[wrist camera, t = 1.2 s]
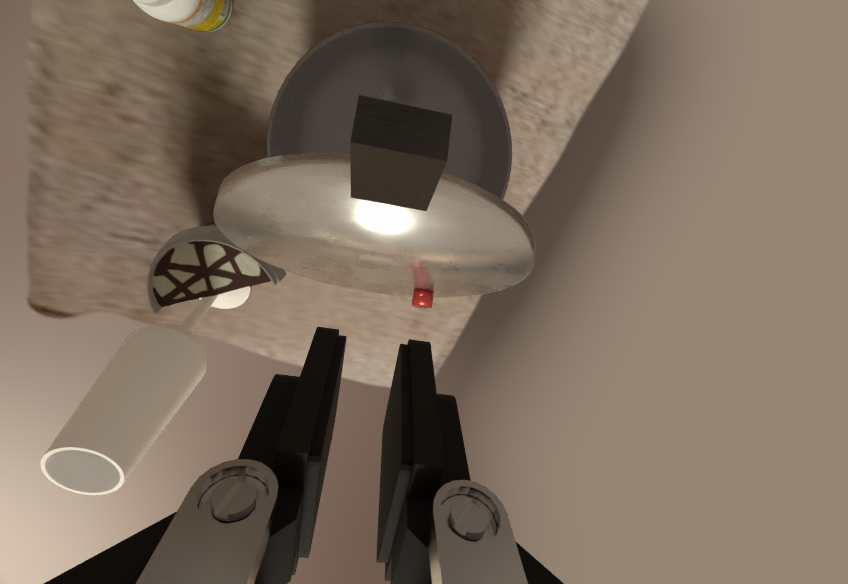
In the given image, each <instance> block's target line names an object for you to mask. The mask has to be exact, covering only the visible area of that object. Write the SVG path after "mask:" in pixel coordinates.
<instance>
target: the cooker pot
mask: <svg viewBox="0 0 848 584" xmlns="http://www.w3.org/2000/svg"><path fill="white" fill-rule="evenodd" d="M359 95H362V96H367V97H372V98H376V99H381V100H386V101H390V102H395V103H400V104H404V105H409V106H414V107H418V108H423V109H428V110H432V111H437V112H442V113H446V114H451V115H452V123H451V132H450V141H449V149H448V158H447V163H446V165H445V168H444V170H443V173H446V174H449V175H452V176H454V177H457V178H459V179H462V180H464V181H467V182H469V183H472V184H474V185H476V186H478V187H480V188H482V189H484V190H486V191H488V192H490V193H492V194H494V195H496V196H497V197H499V198H500V199H502V200H503V198H504V195H505V193H506V190H507V186H508V182H509V177H510V172H511V161H512V142H511V134H510V128H509V122H508V119H507V116H506V112H505V109H504V106H503V103H502V101H501V99H500V97H499V95H498V92H497V90H496V89H495V87H494V85H493V84H492V82H491V80H490V79H489V77H488V76H487V74H486V73H485V72H484V71H483V69H482V68H481V67H480V66H479V64H478V63H477V62H476V61H475V60H474V59H473V58H472V57H471V56H470V55H469V54H467V53H466V52H465V51H464V50H463V49H462V48H460V47H459V46H457V45H456V44H455V43H453V42H452V41H450V40H449V39H447V38H445V37H443V36H441V35H439V34H437V33H435V32H433V31H431V30H428V29H425V28H422V27H418V26H415V25H410V24H404V23H398V22H374V23H368V24H361V25H357V26H354V27H351V28H348V29H344V30H342V31H340V32H338V33H335V34H333V35H331V36H329V37H327V38H326V39H324V40H323V41H321V42H320V43H318V44H317V45H316V46H314V47H313V48H311V49H310V50H309V51H308V52H307V53H306V54H305V55H304V56H303V57H302V58H301V59H300V60H299V61H298V62H297V63H296V65H295V66H294V67H293V69H292V70H291V71H290V73H289V74H288V75H287V77H286V79H285V80H284V82H283V84H282V86H281V88H280V89H279V91H278V94H277V97H276V99H275V102H274V104H273V107H272V111H271V115H270V119H269V124H268V133H267V158H269V157H275V156H280V155H287V154H300V153H343V154H350V141H351V135H352V130H353V124H354V119H355V113H356V108H357V102H358V97H359Z"/></svg>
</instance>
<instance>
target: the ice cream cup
mask: <svg viewBox="0 0 848 584" xmlns="http://www.w3.org/2000/svg"><path fill="white" fill-rule="evenodd" d="M285 275H286V273H285V271H284V270H283V269H280V268H278V267H275V266H273V265H271V264H268V263H266V262H264V261H262V260H260V259H258V258H256V257H254V256H252V255H250V254H248V253H247V252H245V251H244V250H242V249H240V248H239V247H237V246H236V245H235V244H233V243H232V242H231V241H229V240H228V239H227V238H226V237H225V236H224V235H223V234H222V233H221V232H220V230H219V229H218V227H217V226H216V224H215V223H213V224H211V225H209V226H200V227H194V228H190V229H187V230H184V231H182V232H180V233H178V234H176V235H174V236H173V237H172V238H170V239H169V240H168V241H167V242H166V243H165V244H164V245H163V247H162V248H161V249H160V250H159V252H158V253H157V255H156V256H155V258H154V260H153V262H152V264H151V266H150V270H149V274H148V282H147V290H148V297H149V300H150V303H151V306H152V308H153V310H154V312H155V313H157V312H158V311H159V310H160V309H162V308H163V307H164V306H169V305H172V304H175V303H179V302H184V301H188V300H193V299H198V298H204V297H209V296H215V295H219V294H222V293H226V292H229V291H233V290H237V289H240V288H244V287H248V286H252V285H257V284H261V283H265V282H269V281H272V283H273V284H274V285H276V283H277V282H280V281H281V280H282V279H283V278H284V276H285Z"/></svg>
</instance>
